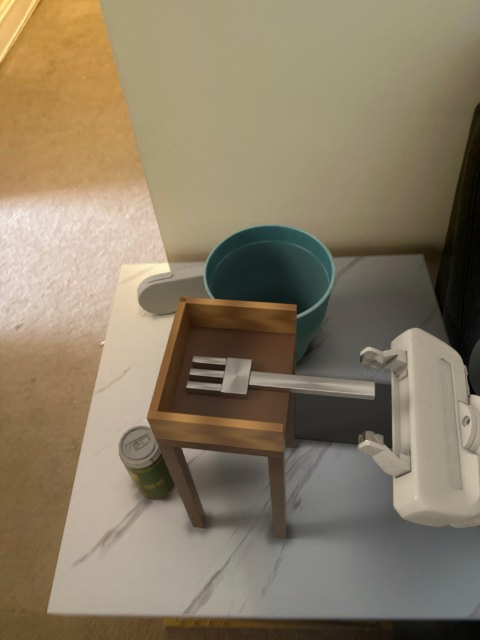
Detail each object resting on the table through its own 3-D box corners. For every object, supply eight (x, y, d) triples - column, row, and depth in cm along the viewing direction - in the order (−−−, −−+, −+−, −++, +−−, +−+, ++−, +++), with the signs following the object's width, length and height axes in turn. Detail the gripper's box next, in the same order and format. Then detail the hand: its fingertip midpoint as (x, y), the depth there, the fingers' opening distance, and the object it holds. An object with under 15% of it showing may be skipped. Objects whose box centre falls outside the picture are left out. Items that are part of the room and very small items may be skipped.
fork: (374, 375, 55) (375, 369, 54) (374, 411, 53) (375, 406, 52) (194, 359, 58) (193, 354, 57) (186, 393, 55) (185, 388, 54)
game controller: (254, 288, 97) (251, 255, 91) (256, 298, 96) (254, 265, 89) (142, 308, 96) (131, 275, 90) (143, 318, 95) (132, 286, 88)
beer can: (163, 456, 79) (146, 415, 70) (184, 485, 77) (169, 447, 67) (130, 479, 78) (108, 440, 68) (150, 509, 75) (130, 474, 65)
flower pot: (341, 380, 85) (351, 310, 71) (223, 399, 84) (210, 332, 71) (315, 290, 96) (319, 215, 82) (210, 306, 95) (197, 233, 82)
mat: (402, 386, 83) (402, 385, 83) (403, 449, 77) (404, 448, 77) (255, 374, 87) (254, 372, 86) (246, 433, 81) (245, 431, 80)
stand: (295, 438, 80) (296, 304, 56) (285, 539, 71) (282, 432, 48) (212, 429, 81) (179, 296, 58) (193, 527, 73) (146, 418, 49)
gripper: (485, 344, 62) (382, 296, 58) (511, 532, 50) (383, 487, 46) (444, 368, 67) (347, 325, 63) (459, 545, 55) (339, 505, 51)
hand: (362, 395), depth 55 cm, fingers open, 8 cm apart
